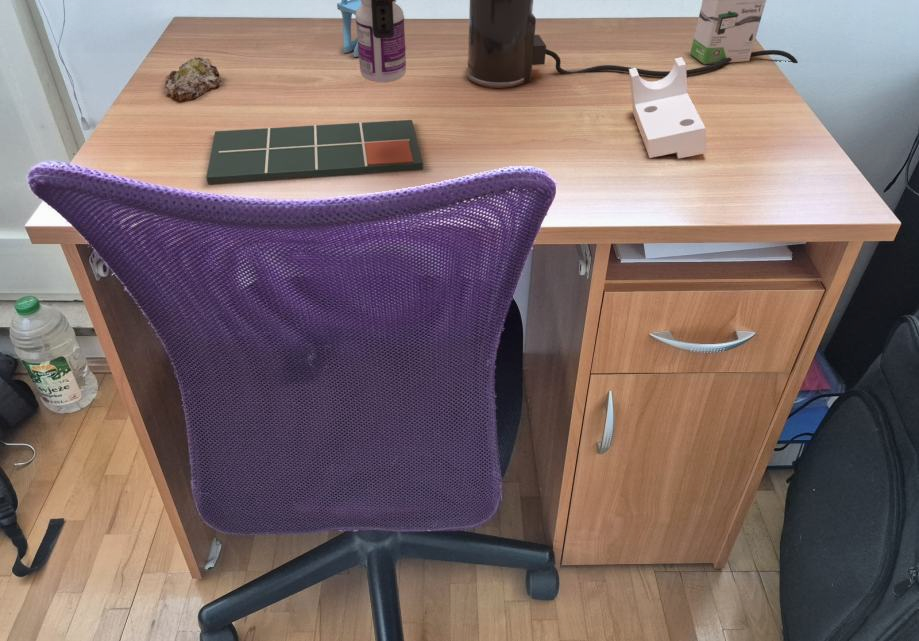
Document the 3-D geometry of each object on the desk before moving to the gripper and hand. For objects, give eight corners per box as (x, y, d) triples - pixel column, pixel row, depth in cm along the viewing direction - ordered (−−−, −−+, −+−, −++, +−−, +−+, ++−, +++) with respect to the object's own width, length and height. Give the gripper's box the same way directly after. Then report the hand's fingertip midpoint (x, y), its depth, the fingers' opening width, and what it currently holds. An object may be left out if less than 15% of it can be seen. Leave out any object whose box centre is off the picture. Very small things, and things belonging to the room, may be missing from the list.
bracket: (633, 119, 104) (628, 69, 99) (684, 108, 103) (681, 57, 98) (650, 164, 94) (645, 111, 89) (706, 152, 93) (704, 98, 88)
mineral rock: (171, 56, 110) (218, 44, 108) (186, 82, 113) (231, 71, 111) (143, 87, 103) (192, 75, 101) (159, 115, 105) (208, 104, 103)
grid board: (412, 126, 99) (412, 118, 98) (423, 169, 90) (423, 161, 90) (216, 138, 96) (214, 129, 95) (207, 184, 87) (205, 175, 86)
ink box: (702, 65, 117) (721, -12, 109) (688, 53, 121) (705, -22, 113) (751, 61, 119) (772, -16, 111) (735, 50, 122) (755, -25, 114)
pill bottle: (406, 65, 87) (404, -21, 80) (405, 83, 83) (402, -5, 76) (361, 65, 87) (355, -21, 80) (358, 83, 83) (351, -5, 76)
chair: (333, 48, 120) (326, -29, 112) (371, 36, 124) (366, -40, 117) (365, 61, 116) (359, -18, 108) (402, 47, 121) (399, -30, 113)
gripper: (419, -138, 65) (422, 49, 76) (403, -164, 76) (407, 5, 87) (335, -138, 64) (350, 53, 75) (330, -163, 75) (344, 7, 86)
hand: (381, 26), depth 81 cm, fingers closed on pill bottle, 5 cm apart
